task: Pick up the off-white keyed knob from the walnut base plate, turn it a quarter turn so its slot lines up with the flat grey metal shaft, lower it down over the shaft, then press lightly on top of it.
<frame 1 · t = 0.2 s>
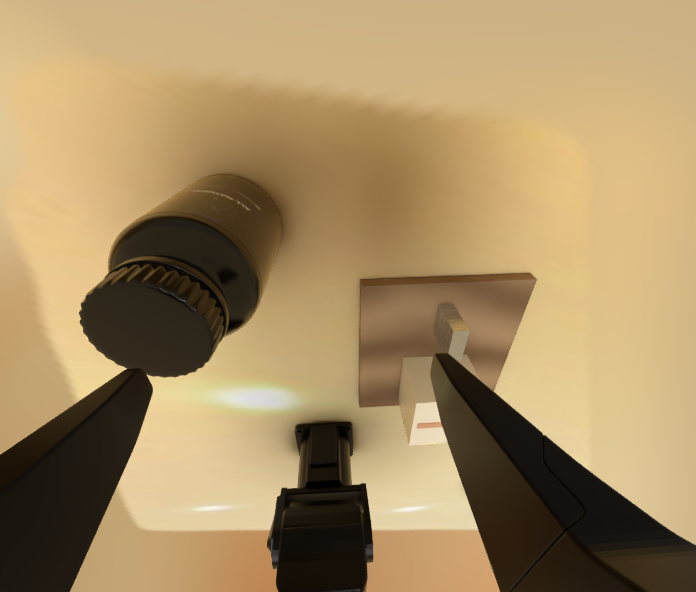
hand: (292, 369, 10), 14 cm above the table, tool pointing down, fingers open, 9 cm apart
keyed knob: (430, 378, 30), point 1 cm above the table, touching base plate
base plate: (432, 344, 29), on the table
supplement bottle: (234, 222, 22), on the table
shaft: (443, 317, 26), resting on base plate
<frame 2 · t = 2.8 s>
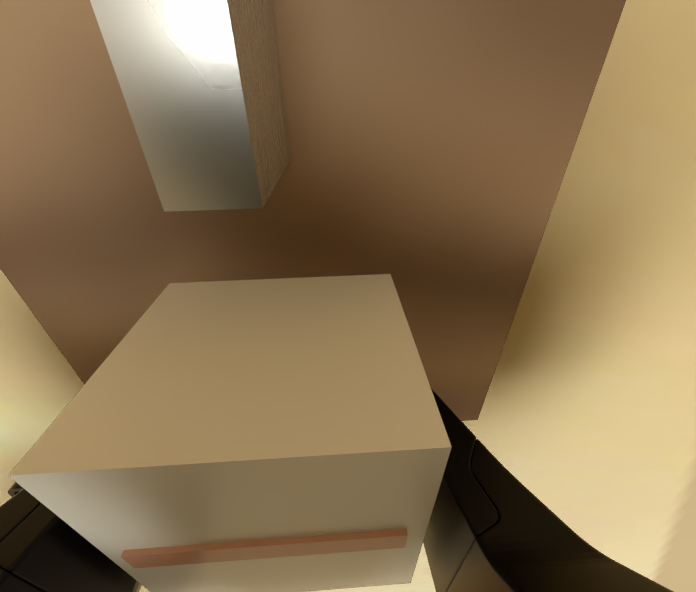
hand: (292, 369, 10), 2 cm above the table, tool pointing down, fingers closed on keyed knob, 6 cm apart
keyed knob: (294, 357, 10), point 1 cm above the table, touching base plate, gripper
base plate: (283, 246, 9), on the table
shaft: (250, 75, 6), resting on base plate
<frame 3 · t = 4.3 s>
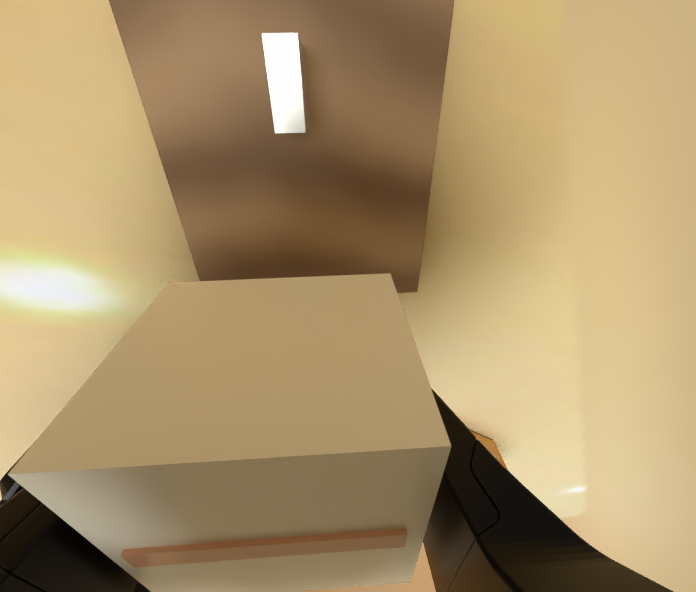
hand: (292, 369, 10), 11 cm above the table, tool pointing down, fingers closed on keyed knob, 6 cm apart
keyed knob: (293, 357, 10), point 11 cm above the table, touching gripper
base plate: (303, 175, 17), on the table
shaft: (294, 88, 14), resting on base plate
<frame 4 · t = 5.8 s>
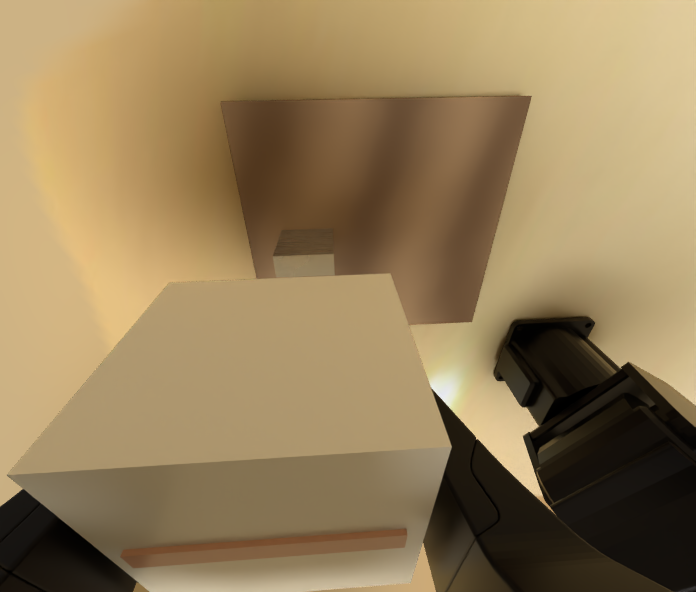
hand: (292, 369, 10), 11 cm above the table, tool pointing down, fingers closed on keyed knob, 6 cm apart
keyed knob: (293, 357, 10), point 11 cm above the table, touching gripper
base plate: (372, 230, 19), on the table
shaft: (308, 238, 18), resting on base plate
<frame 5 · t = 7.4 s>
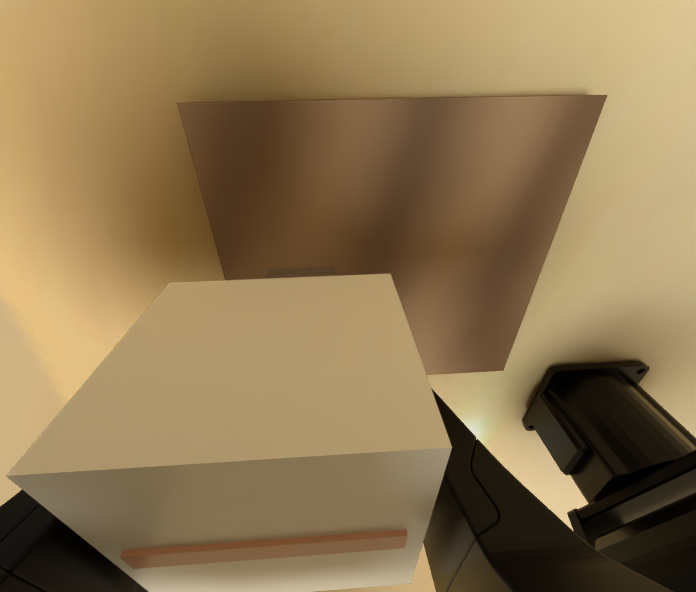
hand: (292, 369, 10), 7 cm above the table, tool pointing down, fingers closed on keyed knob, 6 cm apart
keyed knob: (293, 357, 10), point 6 cm above the table, touching gripper
base plate: (383, 265, 15), on the table
shaft: (302, 278, 14), resting on base plate
when the fingers open (3 cm above the table, at t = 8.8 s): keyed knob stays where it is, resting on base plate.
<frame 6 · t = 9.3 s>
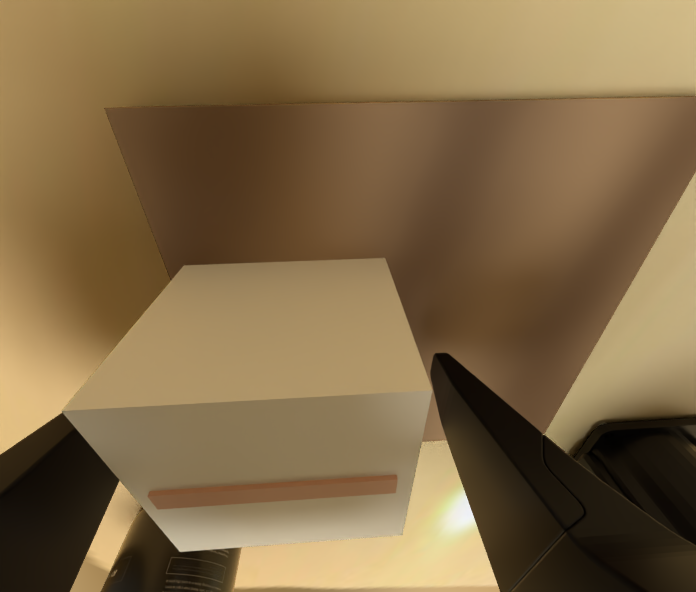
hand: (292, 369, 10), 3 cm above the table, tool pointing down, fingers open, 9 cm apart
keyed knob: (296, 337, 11), point 1 cm above the table, touching base plate
base plate: (401, 315, 12), on the table
supplement bottle: (195, 514, 20), on the table
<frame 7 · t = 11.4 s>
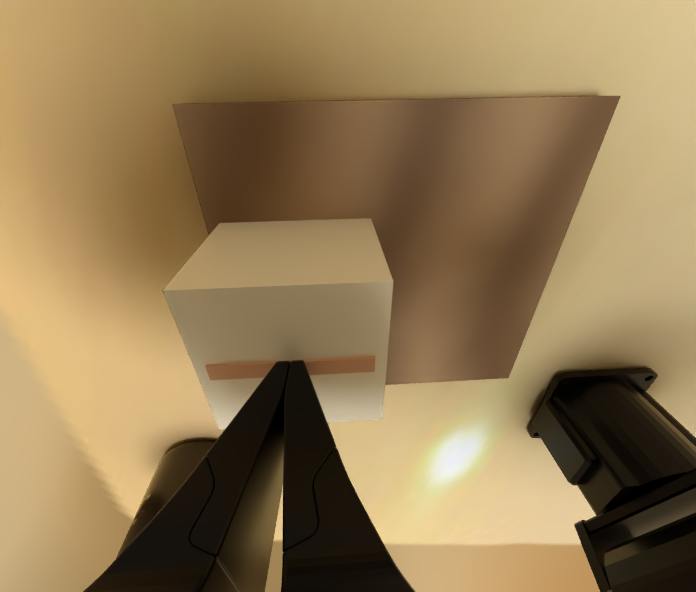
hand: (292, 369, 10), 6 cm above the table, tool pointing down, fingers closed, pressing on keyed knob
keyed knob: (303, 284, 14), point 1 cm above the table, touching base plate, gripper
base plate: (386, 271, 15), on the table
supplement bottle: (212, 460, 23), on the table
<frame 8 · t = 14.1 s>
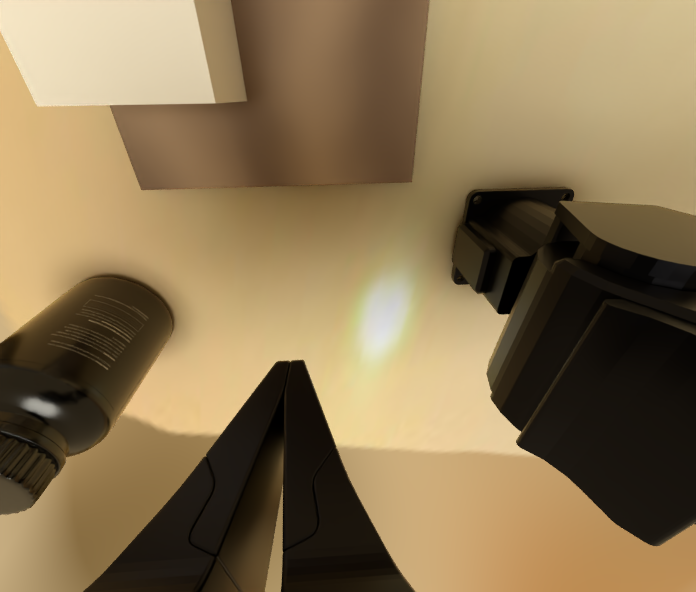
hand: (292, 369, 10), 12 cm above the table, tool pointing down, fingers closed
keyed knob: (162, 19, 13), point 1 cm above the table, touching base plate
base plate: (260, 23, 14), on the table
supplement bottle: (127, 312, 23), on the table
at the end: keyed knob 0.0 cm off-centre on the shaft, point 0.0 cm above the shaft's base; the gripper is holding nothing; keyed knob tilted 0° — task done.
